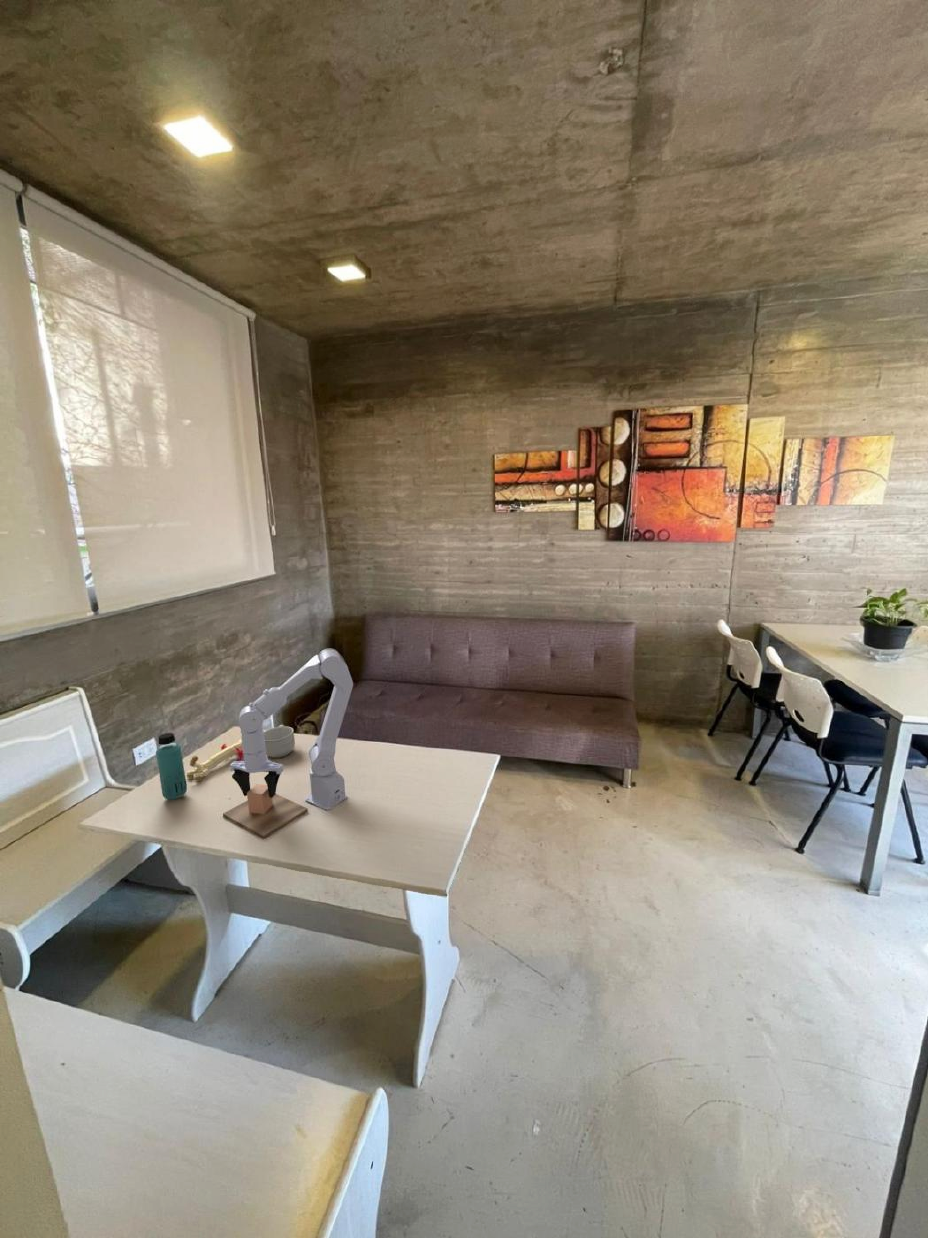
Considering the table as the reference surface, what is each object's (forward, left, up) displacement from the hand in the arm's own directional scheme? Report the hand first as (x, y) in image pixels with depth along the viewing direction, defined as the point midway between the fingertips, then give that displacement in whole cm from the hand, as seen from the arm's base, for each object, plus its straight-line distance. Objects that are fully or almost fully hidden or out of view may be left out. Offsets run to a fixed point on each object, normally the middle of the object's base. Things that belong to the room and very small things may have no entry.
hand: (259, 795), depth 135 cm
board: (-2, 0, -5) cm, 6 cm away
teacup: (+26, -26, -6) cm, 37 cm away
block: (0, 0, -4) cm, 4 cm away
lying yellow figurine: (+35, -11, -6) cm, 37 cm away
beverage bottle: (+28, +9, -6) cm, 30 cm away
